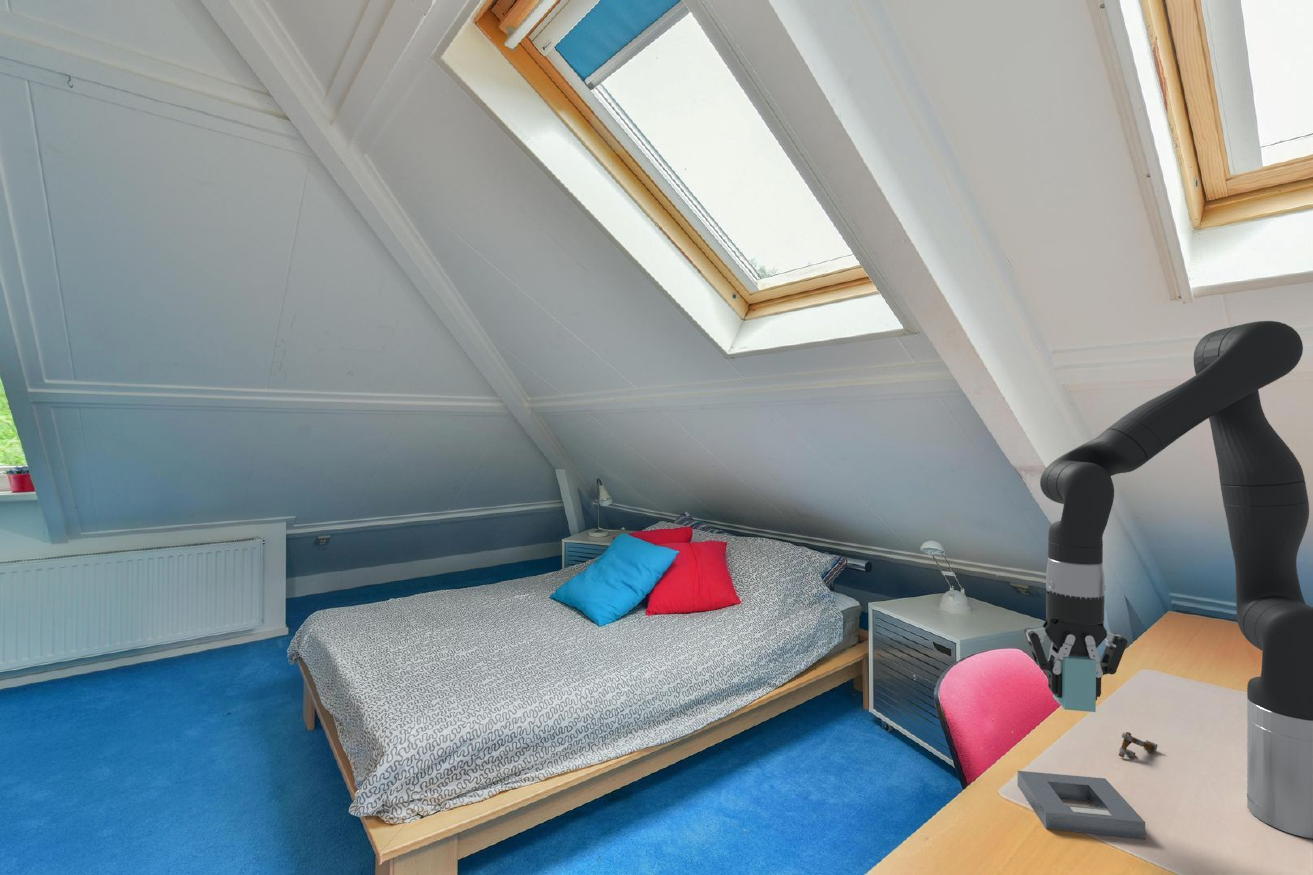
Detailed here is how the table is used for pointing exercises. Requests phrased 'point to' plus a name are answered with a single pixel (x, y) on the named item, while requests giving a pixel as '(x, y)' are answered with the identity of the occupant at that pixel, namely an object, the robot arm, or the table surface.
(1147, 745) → the brown piece
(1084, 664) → the teal peg
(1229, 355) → the robot arm
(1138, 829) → the rail plate
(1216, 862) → the table surface
